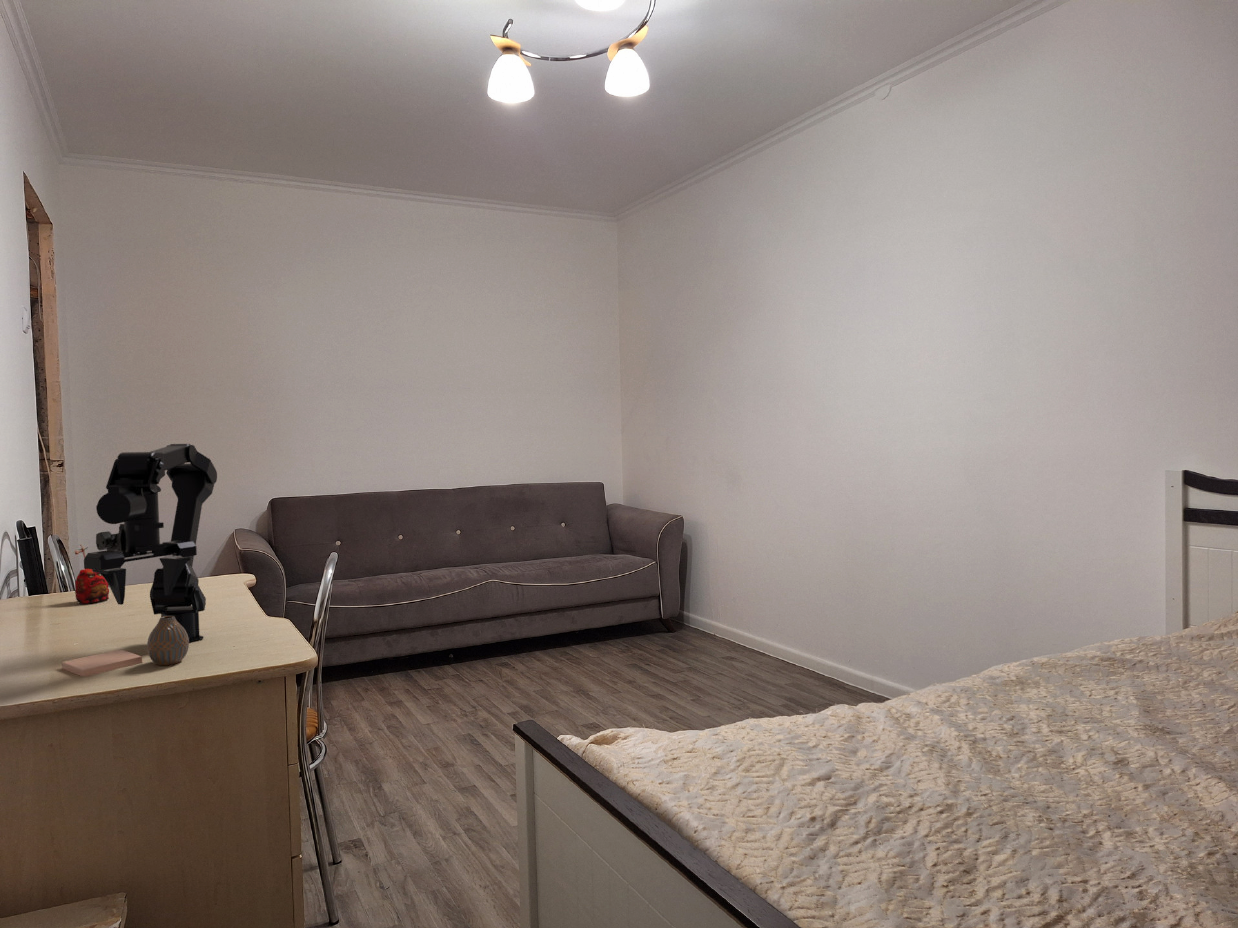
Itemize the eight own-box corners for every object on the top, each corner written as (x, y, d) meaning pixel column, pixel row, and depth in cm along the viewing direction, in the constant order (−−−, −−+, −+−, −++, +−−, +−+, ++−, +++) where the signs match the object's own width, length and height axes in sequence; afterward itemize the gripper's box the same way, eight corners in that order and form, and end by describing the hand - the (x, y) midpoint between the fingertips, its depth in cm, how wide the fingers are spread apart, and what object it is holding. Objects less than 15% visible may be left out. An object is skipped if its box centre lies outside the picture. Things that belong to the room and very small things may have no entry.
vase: (196, 656, 155) (194, 612, 155) (178, 667, 148) (176, 621, 148) (160, 657, 155) (158, 613, 154) (140, 668, 148) (138, 621, 148)
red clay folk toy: (88, 605, 201) (85, 547, 201) (67, 604, 203) (65, 546, 203) (115, 599, 209) (113, 542, 208) (95, 598, 211) (93, 541, 210)
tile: (120, 649, 157) (141, 656, 152) (120, 656, 157) (142, 664, 152) (62, 661, 148) (83, 669, 143) (62, 669, 149) (83, 678, 143)
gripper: (161, 511, 163) (164, 587, 163) (64, 521, 146) (67, 605, 147) (197, 513, 158) (200, 591, 158) (101, 524, 141) (104, 611, 142)
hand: (144, 599), depth 151 cm, fingers open, 9 cm apart
